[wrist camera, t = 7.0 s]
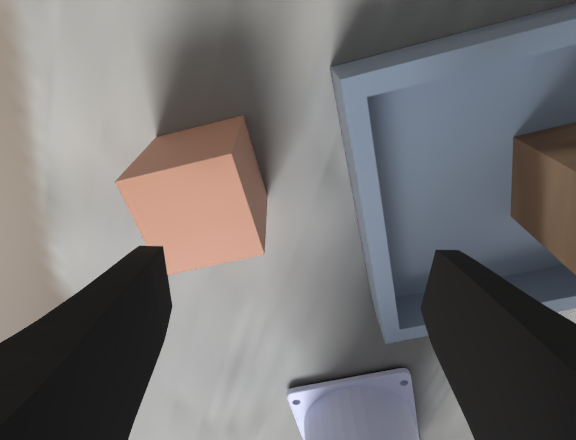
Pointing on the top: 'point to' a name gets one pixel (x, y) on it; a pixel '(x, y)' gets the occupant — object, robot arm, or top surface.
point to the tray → (453, 157)
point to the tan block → (547, 189)
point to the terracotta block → (199, 196)
